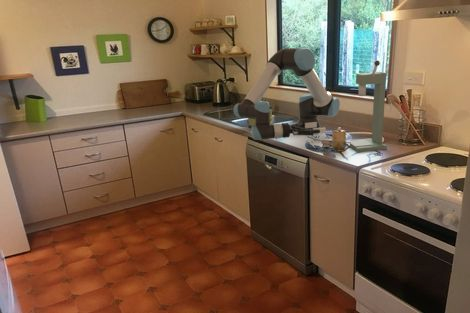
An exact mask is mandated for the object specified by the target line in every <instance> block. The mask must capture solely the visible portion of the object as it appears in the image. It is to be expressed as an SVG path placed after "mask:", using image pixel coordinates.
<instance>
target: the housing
mask: <svg viewBox="0 0 470 313" xmlns="http://www.w3.org/2000/svg"><path fill="white" fill-rule="evenodd" d="M331 135H332V136H331V149H332V148H333V149H334V150H336V151H335V152H339V151H338V150H344V149H345V150H346V146H347V145H346V141H347V137H346V136H347V131H346V130H344V129H342V127H337V129H334V130H332V131H331ZM334 150H333V151H334ZM345 150H344V151H345Z"/></svg>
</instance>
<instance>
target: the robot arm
mask: <svg viewBox="0 0 470 313" xmlns="http://www.w3.org/2000/svg"><path fill="white" fill-rule="evenodd" d="M315 58H316V57H315V53H314V52H313V51H312V49H310V48H307V47H292V48H291V47H290V48H287V47H286V48H281V49H280V50H277V52H275V53H274V54H273V55H272V56H271V57H270V58H269V60H268V61H267V62H266V64H265V68H264V70H263V71H261V74H260V75H259V77H258V78H257V80H256V82H255V83H254V84H253V86H252V87H251V89H250V90H249V91H248V93H247V95H246V96H245V97H244V98H243V100H242V102H239V103H236V104H235V105H234V106H233V110H232V111H233V114H234V116H236V117H238V118H241V119H255V125H254V126H252V128H250V129H251V131H250V132H251V138H252V139H253V140H254V141H255V140H256V141H260V140H261V141H262V140H271V139H274V140H277V139H281V138H283V139H284V138H285V139H287V138H289V137H291V134H293V136H312V137H313V136H314V135H318V134H326V132H327V131H326V130H327V128H326V127H321V125H320V121H319V118H318V117H319V116H320V117H321V116H322V117H329V118H330V117H333V118H334V117H335V116H337V114H338V112H339V110H340V106H341V105H340V103H341V102H340V99H339V98H338V97H334V96H333V95H332V93H331V92H330V91H327V89H326V88H325V86H324V84H323V83H322V81H321V79H320V77H319V76H318V74H317V72H316V70H315V69H314V67H315V64H316V59H315ZM283 71H292V72H293V73H294V75H295V76H296V77H299V78H300V79H301V81H302V83H303V84H304V86H305V87H306V88H307V91H308V92H309V93H308V94H303V95H300V96H299V99H298V100H299V101H298V108H299V109H298V111H299V116H298V117H299V118H298V121H297V122H296V123H292V124H290V123H288V122H282V123H272V124H270V108H269V106H270V103H269V102H268V101H262V98H264V97H263V96H264V95H265V94H266V93H267V91H268V89H269V88H270V87H271V85H272V83H273V82H274V80H275V79H276V78H277V76H279V75H281V73H282V72H283Z"/></svg>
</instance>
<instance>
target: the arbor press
mask: <svg viewBox="0 0 470 313" xmlns="http://www.w3.org/2000/svg"><path fill="white" fill-rule="evenodd" d="M373 64H374V66H373V70H372V72H362V73H355V84H356V85H358V95H357V96H359V97H366V96H367V85H374V86H373V88H374V89H373V91H374V92H373V106H372V107H373V108H372V124H371V125H372V127H371V128H372V130H371V137H369V138H368V137H367V138H359V139H349V140H350V141H351V143H350V147H351V149H352V150H354V151H355V152H356V153H362V152H374V151H382V150H383V151H385V150H387V149H388V145H387V144H385V143H383V137H384V134H383V133H384V119H385V118H384V117H385V104H386V103H385V102H386V86H387V84H386V83H387V72H384V71H377V69H378V67H379V66H380V64H381V61H380V60H375V61H374V63H373ZM350 147H349V148H350Z"/></svg>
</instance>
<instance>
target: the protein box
mask: <svg viewBox="0 0 470 313" xmlns="http://www.w3.org/2000/svg"><path fill="white" fill-rule="evenodd" d="M269 108H270V124H273V107H272V105H269ZM247 119H248V118H247ZM254 125H255V119H248V128H250V129H251V128H252V126H254Z"/></svg>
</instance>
